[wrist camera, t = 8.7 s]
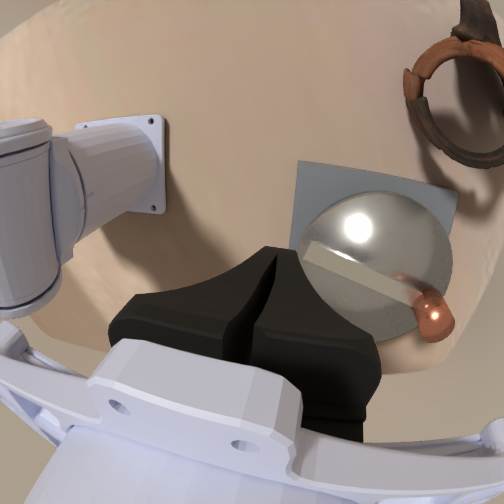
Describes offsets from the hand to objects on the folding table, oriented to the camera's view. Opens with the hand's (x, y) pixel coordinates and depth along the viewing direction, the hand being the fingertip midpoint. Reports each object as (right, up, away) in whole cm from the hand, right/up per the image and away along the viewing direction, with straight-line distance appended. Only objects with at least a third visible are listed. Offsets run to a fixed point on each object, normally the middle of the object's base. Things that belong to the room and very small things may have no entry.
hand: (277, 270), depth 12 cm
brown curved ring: (+14, +13, +2) cm, 19 cm away
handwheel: (+7, 0, +8) cm, 11 cm away
